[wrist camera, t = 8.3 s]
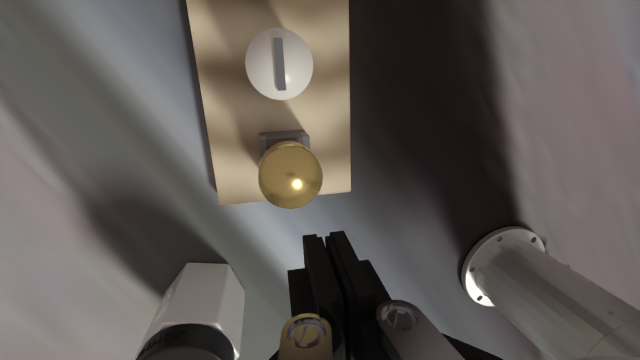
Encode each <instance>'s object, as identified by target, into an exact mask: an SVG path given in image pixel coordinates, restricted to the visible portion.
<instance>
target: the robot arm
mask: <svg viewBox="0 0 640 360" xmlns="http://www.w3.org/2000/svg"><path fill="white" fill-rule="evenodd" d="M325 245H326V248H325ZM325 245H324V242H323V239H322V237H317V235H316V234H312V235H304V236H303V250H304V264H305V268H302V269H295V270H287V271H288V282H289V293H290V303H291V314H292V318H291V319H290V320H289V321H287V323H286V324H285V325H284V327H283V330H282V333H281V339H280V347H279V350H278V351H277V352H276V353H275V354H274V355H273V356H272V357H271V358H270V359H269V360H503V359H501V358H499V357H497V356H495V355H492V354H490V353H488V352H485V351H483V350H481V349H478V348H476V347H473V346H471V345H469V344H466V343H464V342H461V341H459V340H457V339H454V338H452V337H450V336H447V335H445V334H442V333H440V331H439V330H438V329H437V328H436V327H435V326H434V325H433V324H432V323H431V321H430V320H429V319H428V318H427V317H426V316H425V315H424V314H423V313H422V311H421V310H420V309H418V308H417V307H416V306H415V305H413V304H411V303H409V302H406V301H402V300H392V299H391V298H390V296H389V294H388V292H387V291H386V289H385V287H384V285H383V284H382V282H381V280H380V278H379V277H378V275H377V273H376V271H375V270H374V268H373V266H372V264H371V263H370V261H369V260H362V261H359V259H358V258H357V256H356V254H355V252H354V250H353V248H352V246H351V244H350V242H349V240H348V238H347V236H346V234H345V232H344V231H337V232H330V236H326V237H325ZM461 282H462V285H463V288H464V290H465V292H466V293H467V294H468V295H469V296H470V297H471V299H473V300H474V301H475V302H477V303H479V304H481V305H485V306H495V307H496V308H497V309H498V310H499V311H501V312H502V313H503V314H504V315H505V316H506V317H507V318H508V319H509V320H510V321H511V322H512V323H513V324H514V325H515V326H516V327H517V328H518V329H519V330H520V331H521V332H522V333H523V334H524V335H525V336H526V337H527V338H528V339H529V340H531V341H532V342H533V343H534V344H535V345H536V346H537V347H538V348H539V349H540V350H541V351H542V352H543V353H544V354H545V355H546V356H547V357H548V358H549V359H550V360H640V310H638V309H636V308H635V307H633V306H631V305H630V304H628V303H626V302H625V301H623V300H621V299H620V298H618V297H616V296H615V295H613V294H612V293H610V292H608V291H607V290H605V289H603V288H602V287H600V286H598V285H597V284H595V283H593V282H592V281H590V280H588V279H587V278H585V277H584V276H582V275H580V274H579V273H577V272H575V271H574V270H572V269H571V267H570V266H569V265H566V264H562V263H560V262H559V261H557V260H555V259H554V258H552V257H551V256H549V255H547V254H546V253H545V248H544V245H543V243H542V241H541V239H540V238H539V237H538V236H537V235H536V234H534V233H533V232H531V231H529V230H527V229H526V228H522V227H516V226H510V227H504V228H501V229H498V230H495V231H493V232H491V233H489V234H488V235H486V236H485V237H484V238H482V239H481V240H480V241H479V242H478V243H477V244H476V245H475V246H474V247H473V248H472V249H471V251H470V252H469V254H468V255H467V257H466V259H465V261H464V264H463V267H462V273H461Z"/></svg>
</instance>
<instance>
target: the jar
mask: <svg viewBox="0 0 640 360" xmlns="http://www.w3.org/2000/svg"><path fill="white" fill-rule="evenodd" d="M244 300H245V291H244V289H243V287H242V286H241V284H240V282H239V281H238V279H237V277H236V276H235V274H234V272H233V270H232V269H231V267H230V265H229V264H215V263H187V264H186V265H185V267H184V268H183V269H182V271H181V272H180V273H179V275H178V276H177V277H176V278H175V280H174V281H173V282H172V284H171V285H170V286H169V288H168V289H167V290H166V292H165V294H164V296H163V299H162V301H161V303H160V305H159V307H158V309H157V311H156V314H155V316H154V318H153V320H152V322H151V324H150V326H149V329H148V331H147V333H146V335H145V337H144V339H143V341H142V344H141V346H140V348H139V350H138V352H137V354H136V356H135V360H237V358H238V357H239V355H240V346H241V334H242V323H243V311H244Z"/></svg>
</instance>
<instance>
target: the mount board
mask: <svg viewBox="0 0 640 360" xmlns="http://www.w3.org/2000/svg"><path fill="white" fill-rule="evenodd" d="M186 3H187V9H188V15H189V22H190V28H191V34H192V40H193V46H194V52H195V58H196V64H197V70H198V76H199V82H200V89H201V95H202V101H203V107H204V113H205V119H206V125H207V131H208V137H209V143H210V149H211V155H212V162H213V168H214V174H215V180H216V186H217V192H218V198H219V204H220V205H229V204H238V203H248V202H257V201H266V200H267V199H266V198H265V197H264V195H263V194H262V192H261V190H260V187H259V183H258V173H259V163H260V160H261V158H262V156H263V154H264V153H265V151H266V150H267V149H268V148H270V147H271V146H273V145H274V144H276V143H279V142H282V141H295V142H298V143H301V144H303V145H305V146H306V147H307V148H309V149H310V150H311V152H312V153H313V154H314V156H315V157H316V159H317V160H318V162H319V163H320V165H321V168H322V172H323V182H322V186H321V189H320V191H319V193H318V194H317V195H323V194H332V193H341V192H351V166H350V74H349V0H186ZM271 28H284V29H288V30H291V31H293V32H295V33H296V34H298V35H299V36H300V37H301V38H302V39H303V40H304V41H305V42H306V44H307V45H308V47H309V49H310V52H311V54H312V59H313V73H312V77H311V80H310V82H309V84H308V85H307V87H306V88H305V89H304V90H303V91H302V92H301V93H300V94H299V95H297V96H295V97H293V98H290V99H286V100H276V99H271V98H269V97H266V96H264V95H263V94H261V93H260V92H259V91H258V90H257V89H256V88H255V87H254V86H253V85H252V83H251V82H250V80H249V78H248V75H247V72H246V67H245V57H246V52H247V49H248V47H249V45H250V43H251V41H252V40H253V39H254V38H255V37H256V36H257V35H258V34H259V33H261V32H263V31H265V30H267V29H271Z"/></svg>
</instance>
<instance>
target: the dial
mask: <svg viewBox="0 0 640 360" xmlns="http://www.w3.org/2000/svg"><path fill="white" fill-rule="evenodd" d="M245 67H246V72H247V75H248V78H249V80H250V82H251V83H252V85H253V86H254V87H255V88H256V89H257V90H258V91H259V92H260V93H261V94H263V95H264V96H266V97H269V98H271V99H276V100H286V99H290V98H293V97H295V96H297V95H299V94H300V93H301V92H302V91H303V90H304V89H305V88H306V87H307V85H308V84H309V82H310V80H311V77H312V73H313V59H312V54H311V52H310V49H309V47H308V45H307V44H306V42H305V41H304V40H303V39H302V38H301V37H300V36H299V35H298V34H296V33H295V32H293V31H291V30H288V29H284V28H271V29H267V30H265V31H263V32H261V33H259V34H258V35H257V36H256V37H255V38H254V39H253V40H252V41H251V43H250V45H249V47H248V49H247V52H246V57H245Z"/></svg>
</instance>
